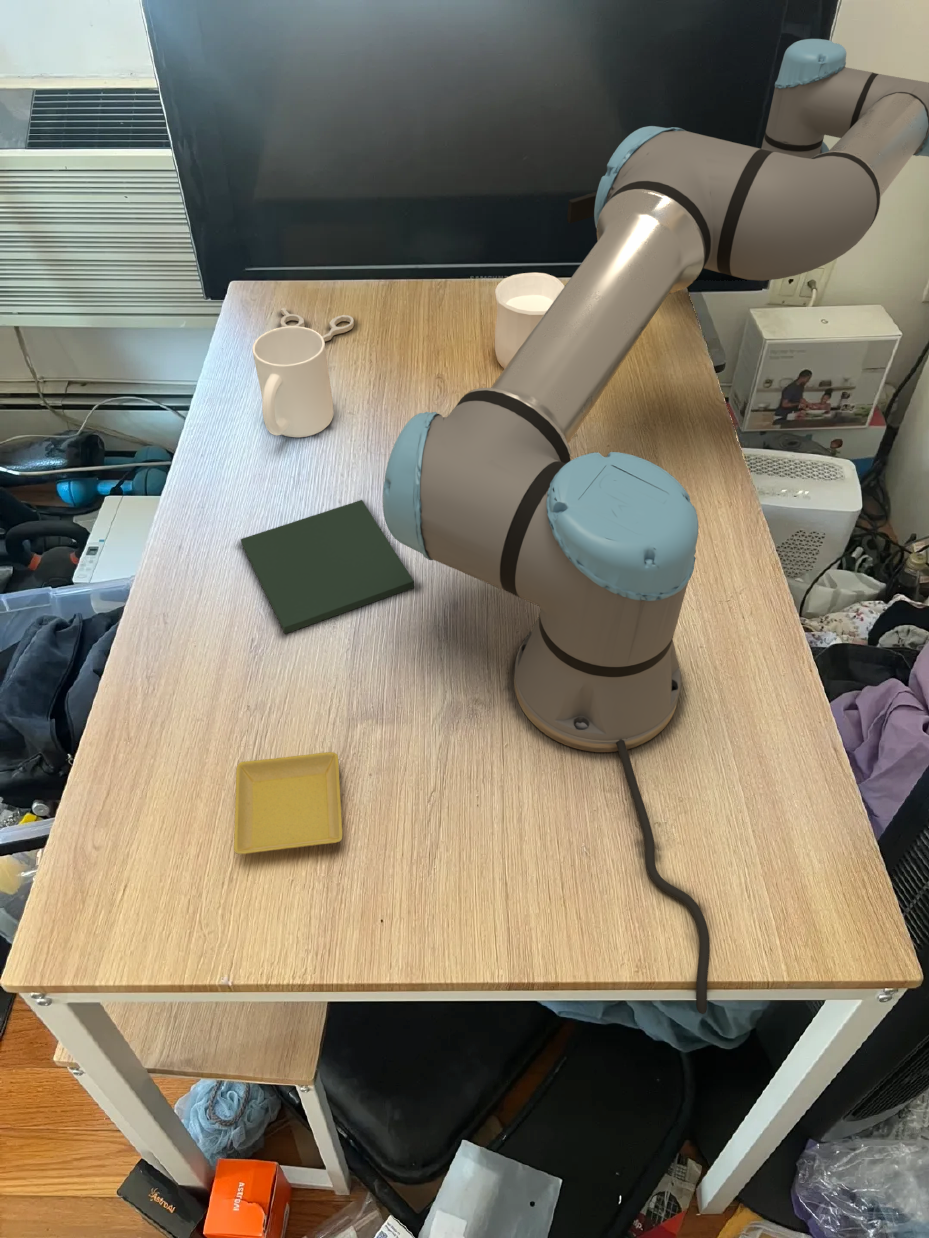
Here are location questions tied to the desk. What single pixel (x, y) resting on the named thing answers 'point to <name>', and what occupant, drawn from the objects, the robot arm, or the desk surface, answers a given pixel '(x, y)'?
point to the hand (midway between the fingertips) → (601, 233)
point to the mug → (293, 381)
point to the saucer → (287, 803)
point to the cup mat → (325, 565)
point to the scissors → (332, 324)
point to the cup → (521, 309)
